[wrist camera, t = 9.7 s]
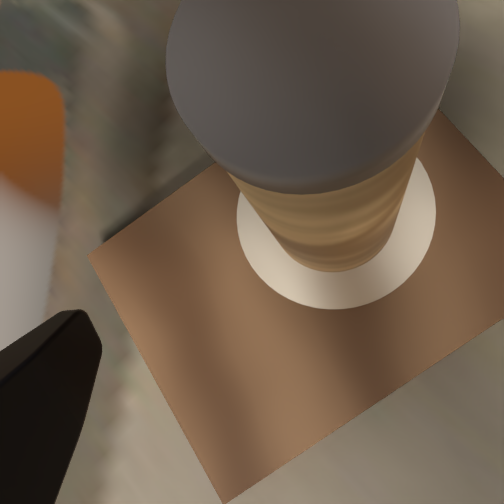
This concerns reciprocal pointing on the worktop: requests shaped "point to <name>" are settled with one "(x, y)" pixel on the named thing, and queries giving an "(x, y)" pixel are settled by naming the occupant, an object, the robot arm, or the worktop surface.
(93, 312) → the worktop surface
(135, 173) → the worktop surface
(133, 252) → the walnut board
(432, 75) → the tan jar with lid
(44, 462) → the robot arm
